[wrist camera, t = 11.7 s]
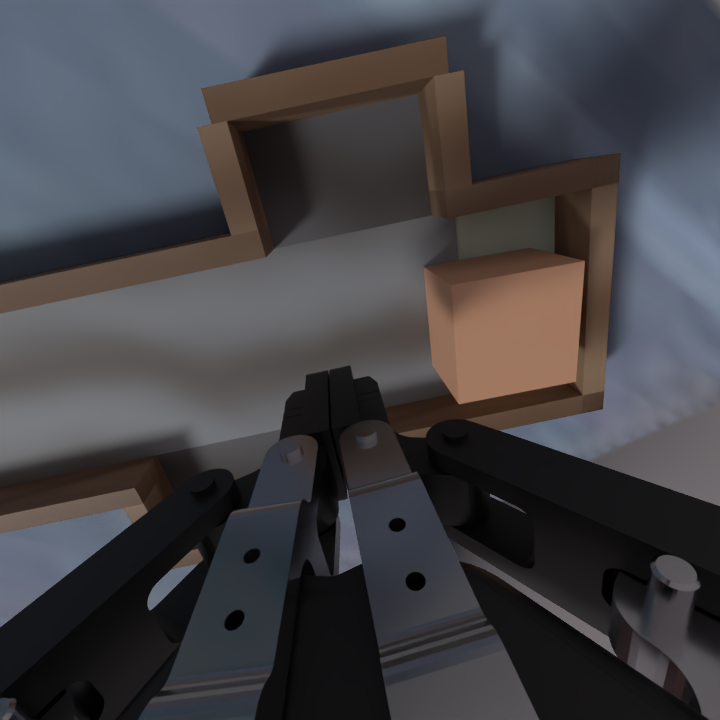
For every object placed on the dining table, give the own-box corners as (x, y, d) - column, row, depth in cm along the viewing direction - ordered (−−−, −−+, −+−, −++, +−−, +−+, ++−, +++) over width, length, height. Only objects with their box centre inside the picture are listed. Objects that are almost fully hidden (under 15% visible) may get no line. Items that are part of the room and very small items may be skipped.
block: (423, 266, 18) (451, 285, 14) (529, 247, 18) (585, 261, 14) (432, 365, 20) (458, 404, 16) (527, 347, 20) (575, 381, 16)
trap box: (-239, 206, 15) (-354, 208, 13) (579, 29, 15) (631, -5, 12) (32, 559, 23) (-5, 605, 21) (567, 449, 23) (597, 481, 20)
